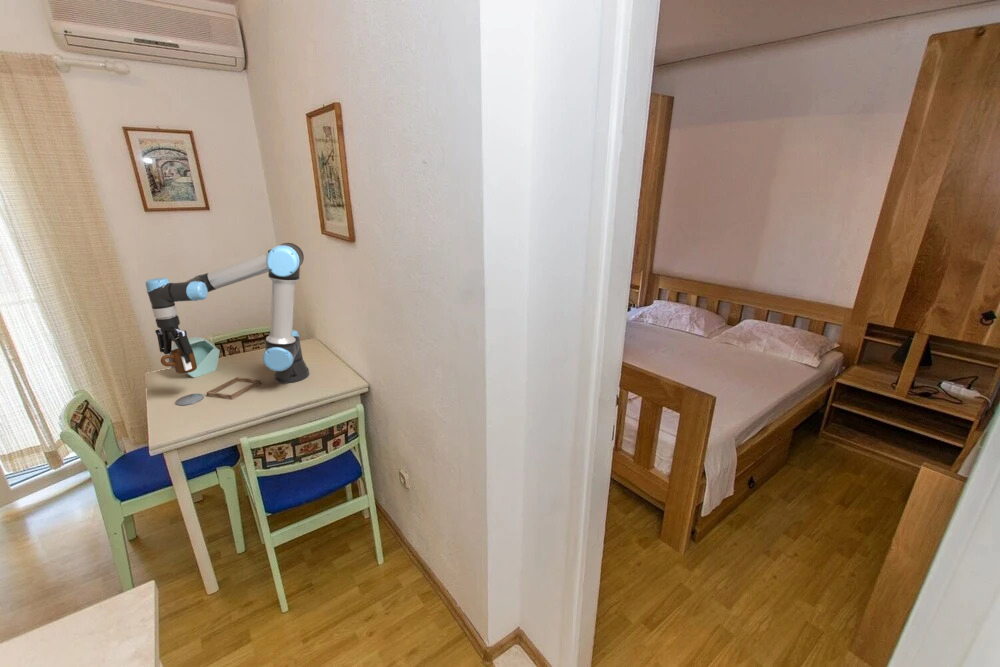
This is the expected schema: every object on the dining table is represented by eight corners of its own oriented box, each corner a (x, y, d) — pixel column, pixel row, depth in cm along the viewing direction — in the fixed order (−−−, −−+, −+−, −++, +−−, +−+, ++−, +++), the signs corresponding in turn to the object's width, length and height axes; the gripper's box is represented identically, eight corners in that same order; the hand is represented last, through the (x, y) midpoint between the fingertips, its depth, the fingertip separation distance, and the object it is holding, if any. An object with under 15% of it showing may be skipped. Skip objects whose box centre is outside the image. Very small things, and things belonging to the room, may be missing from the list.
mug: (170, 379, 177) (164, 358, 174) (160, 375, 181) (154, 354, 178) (201, 368, 187) (196, 348, 184) (191, 365, 191) (186, 345, 187)
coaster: (209, 396, 191) (208, 394, 191) (188, 406, 182) (188, 405, 182) (191, 393, 194) (191, 392, 194) (170, 404, 185) (169, 402, 184)
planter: (203, 384, 214) (167, 359, 199) (195, 380, 218) (159, 356, 203) (228, 357, 222) (196, 331, 207) (219, 354, 226) (187, 329, 211)
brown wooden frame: (261, 383, 203) (260, 379, 202) (232, 399, 188) (231, 395, 187) (238, 380, 206) (237, 377, 206) (207, 396, 191) (206, 392, 190)
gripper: (194, 315, 176) (207, 367, 184) (156, 312, 182) (171, 363, 189) (177, 321, 170) (191, 374, 177) (138, 317, 175) (154, 369, 182)
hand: (181, 368), depth 183 cm, fingers closed on mug, 7 cm apart
